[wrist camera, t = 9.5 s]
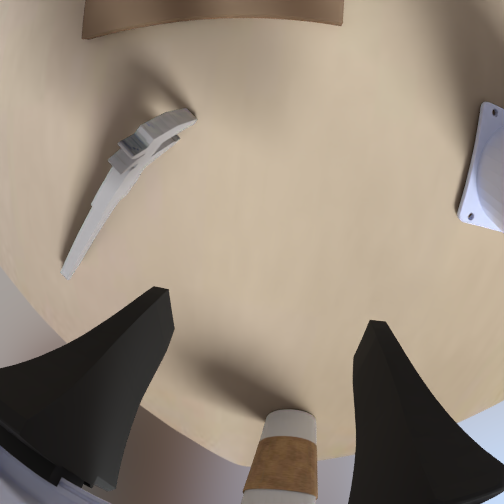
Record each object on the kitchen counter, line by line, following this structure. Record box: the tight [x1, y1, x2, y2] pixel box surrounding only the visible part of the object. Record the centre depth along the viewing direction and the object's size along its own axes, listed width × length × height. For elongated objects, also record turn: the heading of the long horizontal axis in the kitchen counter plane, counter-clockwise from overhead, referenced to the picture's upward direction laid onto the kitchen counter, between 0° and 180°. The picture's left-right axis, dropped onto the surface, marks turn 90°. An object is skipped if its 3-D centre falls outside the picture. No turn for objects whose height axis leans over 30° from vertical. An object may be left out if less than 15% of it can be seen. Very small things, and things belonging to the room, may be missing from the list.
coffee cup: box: [241, 409, 318, 504], centre depth 24 cm, size 8×8×15 cm
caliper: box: [60, 108, 197, 280], centre depth 18 cm, size 20×1×6 cm, turn 132°
